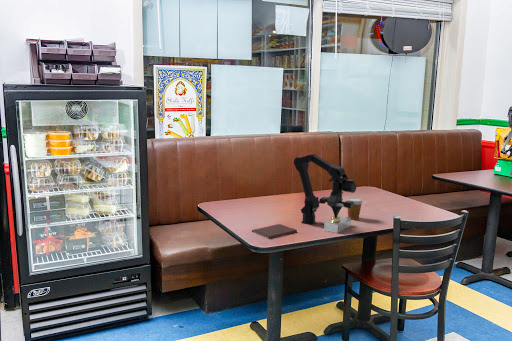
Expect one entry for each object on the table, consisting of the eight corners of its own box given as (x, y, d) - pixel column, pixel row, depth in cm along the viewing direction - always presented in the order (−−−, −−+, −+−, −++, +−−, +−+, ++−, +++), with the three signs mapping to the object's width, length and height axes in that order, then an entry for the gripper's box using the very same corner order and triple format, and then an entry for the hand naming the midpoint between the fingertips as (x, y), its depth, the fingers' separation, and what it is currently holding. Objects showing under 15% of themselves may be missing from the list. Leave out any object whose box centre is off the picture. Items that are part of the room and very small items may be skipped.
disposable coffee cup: (343, 219, 289) (344, 200, 286) (347, 215, 297) (348, 196, 295) (359, 221, 285) (360, 202, 283) (362, 217, 293) (364, 198, 291)
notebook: (251, 232, 263) (251, 229, 262) (279, 226, 274) (279, 223, 274) (269, 240, 251) (269, 236, 251) (296, 233, 263) (297, 229, 262)
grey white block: (324, 230, 267) (324, 222, 266) (337, 222, 282) (338, 215, 281) (337, 233, 263) (337, 225, 262) (350, 225, 277) (350, 217, 277)
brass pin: (329, 228, 269) (329, 217, 268) (332, 226, 273) (333, 215, 272) (337, 230, 266) (338, 218, 265) (341, 227, 270) (342, 216, 269)
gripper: (315, 190, 264) (314, 217, 267) (347, 195, 254) (345, 223, 257) (324, 186, 273) (323, 213, 276) (355, 191, 263) (353, 218, 266)
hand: (335, 217), depth 269 cm, fingers closed, pressing on brass pin
